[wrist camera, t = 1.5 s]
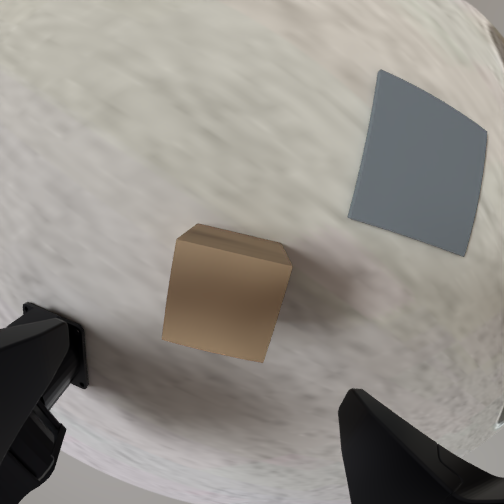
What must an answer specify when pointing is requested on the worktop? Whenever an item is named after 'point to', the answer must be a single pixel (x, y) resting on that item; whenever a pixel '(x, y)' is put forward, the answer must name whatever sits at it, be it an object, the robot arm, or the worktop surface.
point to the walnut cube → (225, 292)
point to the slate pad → (419, 167)
